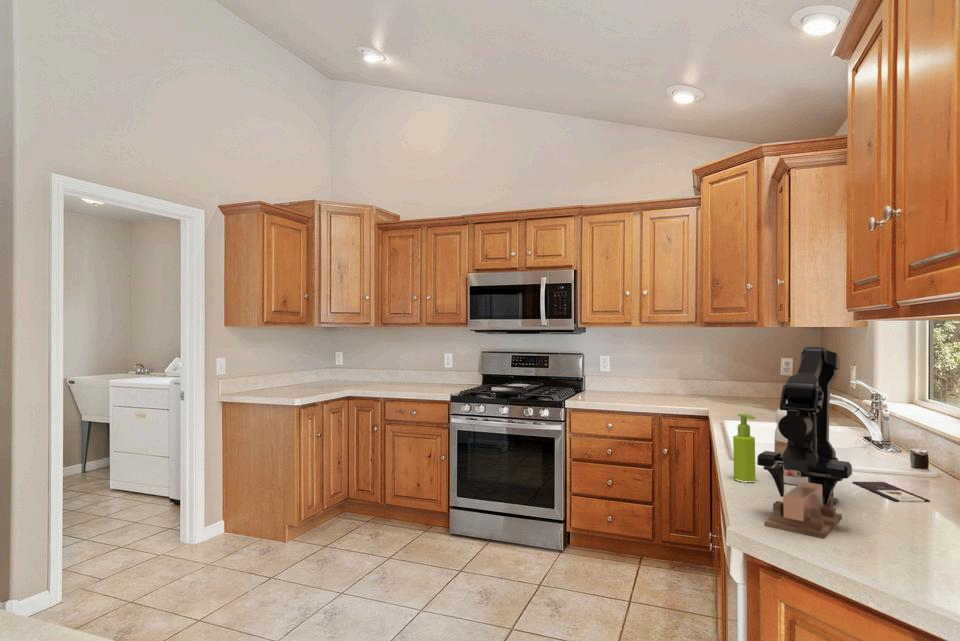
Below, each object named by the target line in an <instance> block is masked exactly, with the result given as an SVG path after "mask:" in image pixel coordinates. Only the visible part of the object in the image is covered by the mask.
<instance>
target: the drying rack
mask: <svg viewBox="0 0 960 641" xmlns="http://www.w3.org/2000/svg"><path fill="white" fill-rule="evenodd" d="M772 510H773V512H772V513H771V514H770V516H769V517H768V518H767V519H765V520H764V521H763V523H764V524H763V525H764V526H765V527H769V528H774V529H779V530H783V531H788V532H791V533H797V534H801V535H805V536H810V537H815V538H819V539H826V537H827V536H828V535H829V534H830V533H831V532H832V531H833V529H834V528H835V527H837V525H838V524H839V523H840V521H842V519H843V514H842V513H838V512H836V511H837V510H836V508H835V507H834V505H833V497H830V499H829V502H828V504H827V505H825V503H824V498H823V506H821V507H820V508H819V509H817V508H812V509H811V510H810V516H809V517H808V518H807V519H806V520H804V521H799V520H794V519H789V518H785V517H784V504H783V501H780V500H776V501H775V502H774V503H773V504H772Z"/></svg>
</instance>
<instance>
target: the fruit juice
mask: <svg viewBox="0 0 960 641" xmlns="http://www.w3.org/2000/svg"><path fill="white" fill-rule="evenodd" d="M787 401H788V400H787ZM787 401H786V403H787ZM774 415H775V416H774V418H775V423H776V428H775V430H774V452H778V453H781V457H782V455H783V453H784V451H785V449H786V448H787V445H788V439H787V438H785V437H784V436H782V434H781V433H780V431H779V428H778V424H779V422H780V420H781V419H782V418H783V417H784V416H786V415H787V410H780V406H779V407H778V408H777V409H776V411H775V414H774ZM780 465H781V464H780ZM783 478H784V484H788V485H793V486H794V485H795V486H798V485H800V484H801V483H803V482H808V477H804V476H803V477H802V476H801V473H800V472H799V471H796V470H786V469H784V467H783Z"/></svg>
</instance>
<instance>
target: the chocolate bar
mask: <svg viewBox="0 0 960 641" xmlns="http://www.w3.org/2000/svg"><path fill="white" fill-rule="evenodd" d="M853 483H854V484H853ZM851 484H853V485H855V484H856V486H857V485H858V486H857V487H859V486H860V487H859V488H862V489H864V488H865V489H864V490H866V489H867V490H866V491H868V490H869V491H868V492H870V493H872V494H873V493H874V494H875V493H876V494H875V495H877V494H878V496H879V495H880V497H882V498H884V499H886V498H887V500H888V499H889V501H891V500H892V501H891V502H893V501H894V502H893V503H925V502H930V503H931V501H930V499H927V498H925V497H922V496H919V495H917V494H915V493H912V492H910V491H907V490H906V489H905V490H904V489H902V488H900V487H897V486H895V485H892V484H890V483H889V482H885V481H852V483H851Z"/></svg>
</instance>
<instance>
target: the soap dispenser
mask: <svg viewBox="0 0 960 641" xmlns="http://www.w3.org/2000/svg"><path fill="white" fill-rule="evenodd" d="M737 416H738V417H740V423H739V424H737V434H736V435H733V438H732V439H733V440H732V442H733V444H732V445H733V446H732V447H733V479H734V478H735V479H738V480H742V481H755V482H756V439H755V438H756V437H754V436H751V425H749V424H748V420H747V419H749V420H753V419H756V416H754V415H752V414H748V413H738V414H737Z"/></svg>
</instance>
